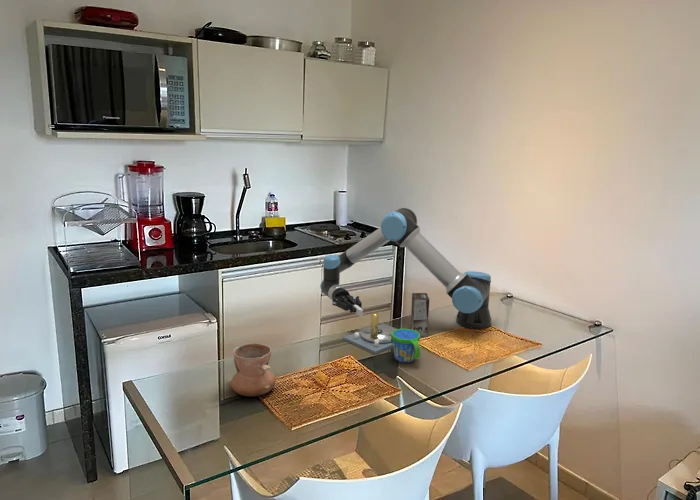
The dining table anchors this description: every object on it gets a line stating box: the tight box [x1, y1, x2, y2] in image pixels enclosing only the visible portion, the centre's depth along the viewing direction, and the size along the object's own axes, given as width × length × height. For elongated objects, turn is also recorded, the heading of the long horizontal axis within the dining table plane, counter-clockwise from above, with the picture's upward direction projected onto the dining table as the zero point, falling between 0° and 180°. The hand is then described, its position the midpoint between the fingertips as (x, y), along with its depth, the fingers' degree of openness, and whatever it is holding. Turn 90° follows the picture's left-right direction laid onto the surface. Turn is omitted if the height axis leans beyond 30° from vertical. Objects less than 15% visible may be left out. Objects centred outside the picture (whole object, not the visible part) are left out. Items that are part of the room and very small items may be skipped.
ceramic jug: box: [230, 342, 277, 398], centre depth 173 cm, size 18×14×14 cm
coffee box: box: [410, 292, 430, 337], centre depth 222 cm, size 9×6×16 cm
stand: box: [342, 322, 398, 355], centre depth 216 cm, size 18×23×4 cm
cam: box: [360, 312, 395, 343], centre depth 214 cm, size 15×15×12 cm
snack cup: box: [391, 328, 422, 364], centre depth 198 cm, size 16×10×10 cm
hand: (361, 313), depth 218 cm, fingers closed
